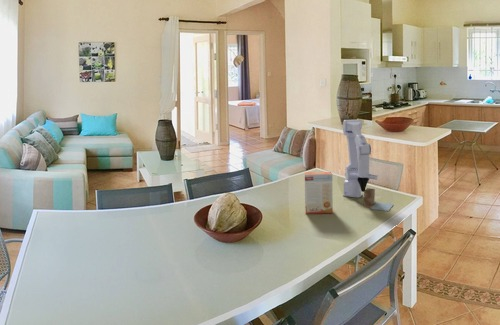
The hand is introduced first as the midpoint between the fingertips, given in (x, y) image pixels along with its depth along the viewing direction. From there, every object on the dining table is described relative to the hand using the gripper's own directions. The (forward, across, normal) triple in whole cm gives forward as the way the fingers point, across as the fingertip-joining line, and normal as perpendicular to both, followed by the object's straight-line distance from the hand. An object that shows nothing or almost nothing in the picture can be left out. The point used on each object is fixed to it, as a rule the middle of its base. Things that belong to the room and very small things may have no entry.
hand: (363, 191), depth 233 cm
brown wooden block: (+8, +3, 0) cm, 8 cm away
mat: (+7, +10, 0) cm, 13 cm away
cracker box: (+8, -17, -21) cm, 28 cm away
